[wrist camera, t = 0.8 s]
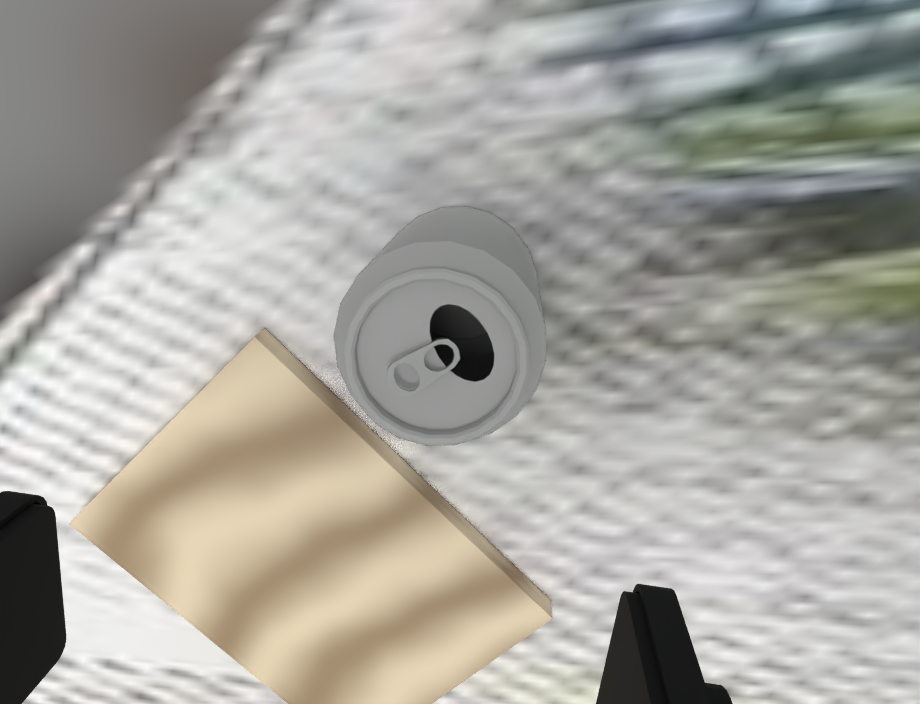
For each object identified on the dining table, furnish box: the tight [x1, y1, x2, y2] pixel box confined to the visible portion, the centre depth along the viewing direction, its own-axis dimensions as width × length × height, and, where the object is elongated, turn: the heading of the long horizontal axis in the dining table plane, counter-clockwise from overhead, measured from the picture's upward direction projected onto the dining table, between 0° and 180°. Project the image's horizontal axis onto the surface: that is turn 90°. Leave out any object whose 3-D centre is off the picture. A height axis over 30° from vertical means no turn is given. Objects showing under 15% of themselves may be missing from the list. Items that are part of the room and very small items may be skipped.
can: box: [334, 206, 546, 446], centre depth 28 cm, size 8×8×12 cm
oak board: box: [69, 329, 552, 704], centre depth 39 cm, size 22×16×2 cm
